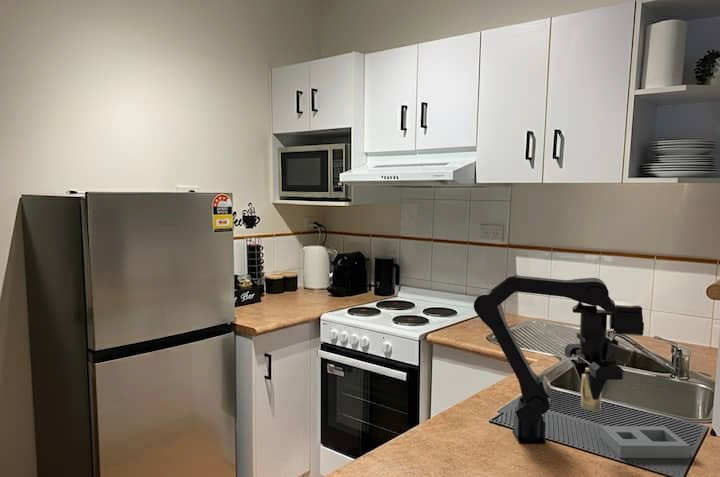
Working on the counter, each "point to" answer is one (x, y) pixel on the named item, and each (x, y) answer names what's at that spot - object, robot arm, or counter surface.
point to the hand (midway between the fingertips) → (591, 395)
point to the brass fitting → (588, 395)
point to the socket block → (644, 442)
